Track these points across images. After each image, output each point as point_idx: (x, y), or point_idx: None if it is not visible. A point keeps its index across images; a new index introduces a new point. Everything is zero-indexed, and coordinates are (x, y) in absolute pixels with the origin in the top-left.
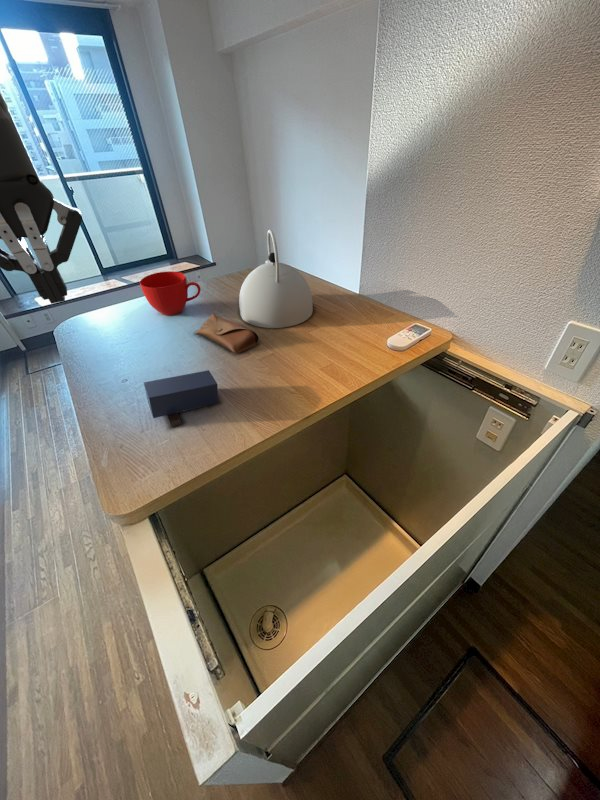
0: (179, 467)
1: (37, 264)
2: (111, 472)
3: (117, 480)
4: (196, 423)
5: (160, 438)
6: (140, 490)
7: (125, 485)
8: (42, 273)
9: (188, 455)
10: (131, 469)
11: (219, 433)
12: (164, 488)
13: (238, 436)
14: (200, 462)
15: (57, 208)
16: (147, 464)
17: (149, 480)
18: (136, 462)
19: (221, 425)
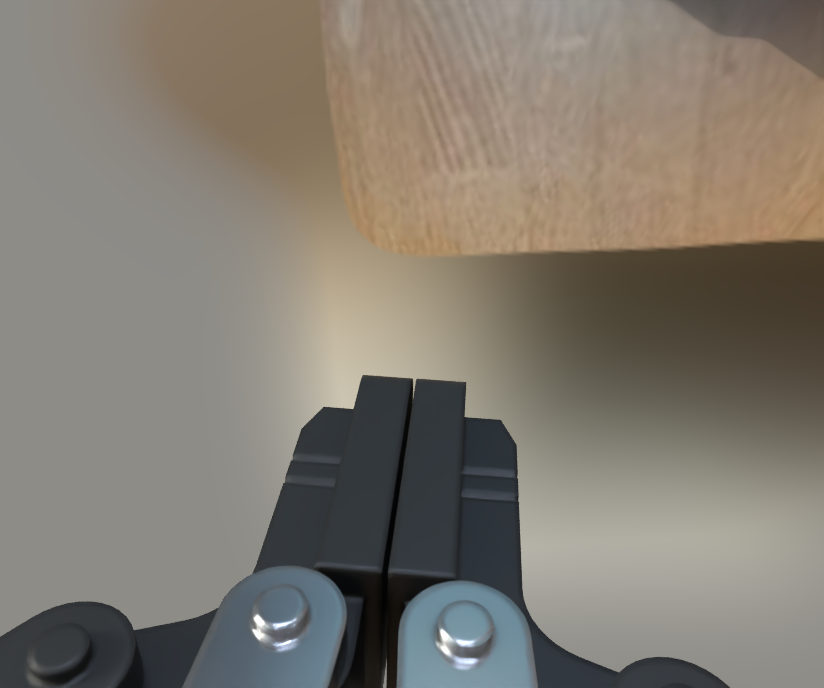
0: (568, 195)
1: (354, 678)
2: (366, 87)
3: (380, 135)
4: (725, 9)
5: (563, 13)
6: (437, 213)
7: (400, 169)
8: (382, 683)
9: (615, 162)
10: (429, 113)
11: (764, 123)
12: (500, 244)
13: (809, 178)
14: (634, 213)
15: None
16: (481, 122)
17: (469, 192)
18: (451, 90)
19: (799, 84)
